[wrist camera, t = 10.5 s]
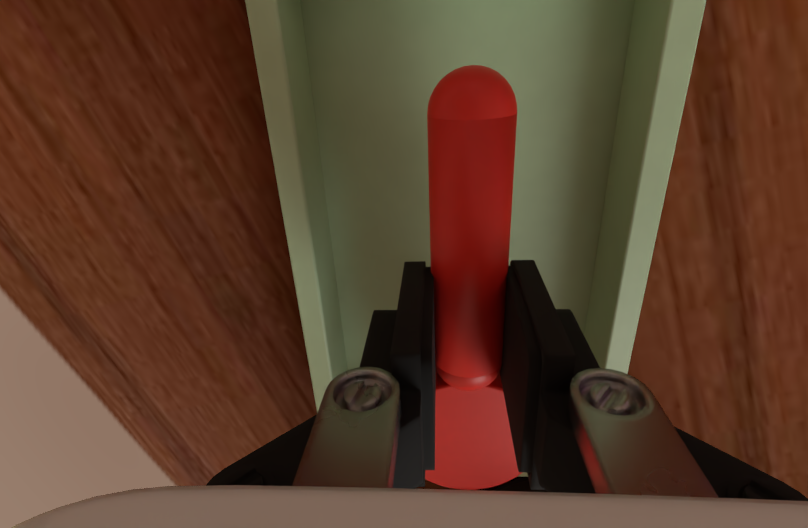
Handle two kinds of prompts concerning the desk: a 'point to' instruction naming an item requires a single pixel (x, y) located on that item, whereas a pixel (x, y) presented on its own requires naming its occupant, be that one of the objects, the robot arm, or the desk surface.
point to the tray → (408, 148)
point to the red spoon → (471, 273)
